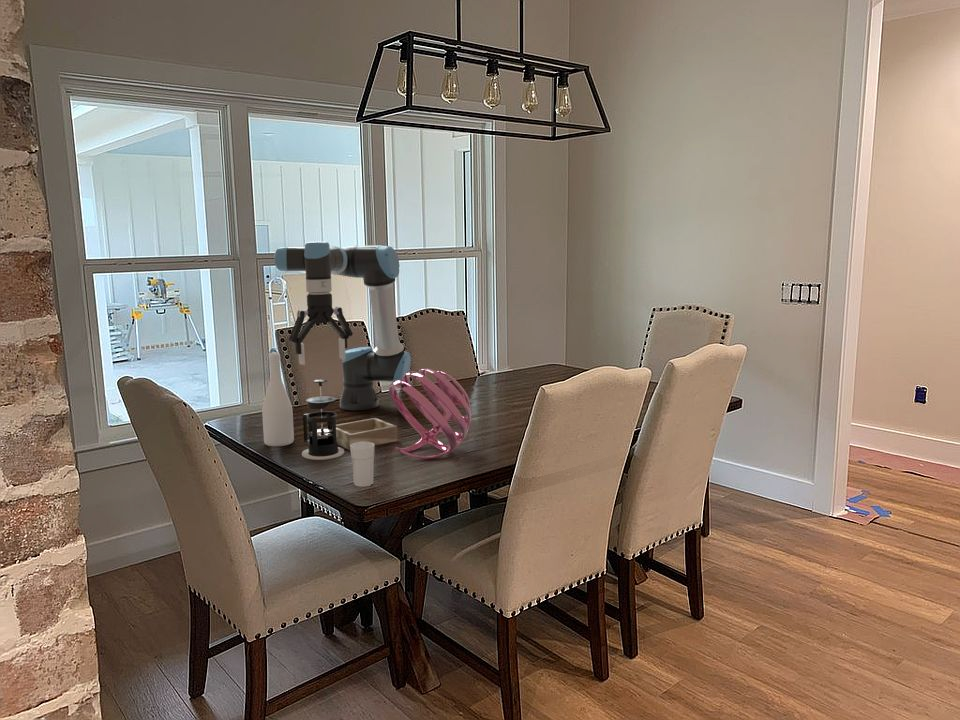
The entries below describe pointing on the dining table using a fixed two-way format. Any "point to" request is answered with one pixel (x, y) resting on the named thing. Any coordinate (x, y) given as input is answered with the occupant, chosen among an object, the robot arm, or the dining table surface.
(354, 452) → the cup
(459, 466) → the dining table surface
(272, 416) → the wine bottle
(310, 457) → the trivet
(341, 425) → the holder
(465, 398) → the spiral basket
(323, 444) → the french press
